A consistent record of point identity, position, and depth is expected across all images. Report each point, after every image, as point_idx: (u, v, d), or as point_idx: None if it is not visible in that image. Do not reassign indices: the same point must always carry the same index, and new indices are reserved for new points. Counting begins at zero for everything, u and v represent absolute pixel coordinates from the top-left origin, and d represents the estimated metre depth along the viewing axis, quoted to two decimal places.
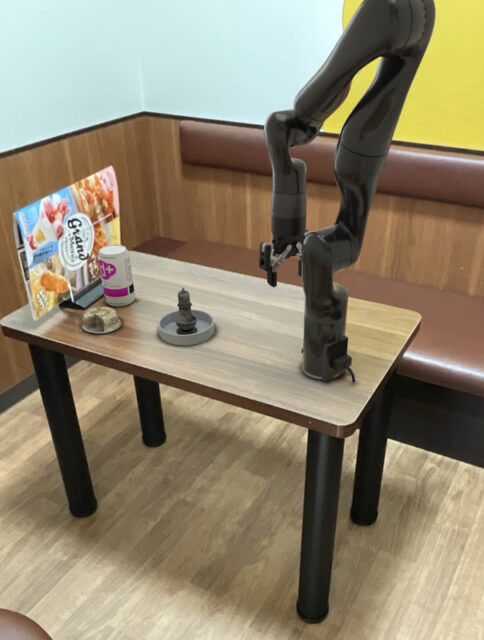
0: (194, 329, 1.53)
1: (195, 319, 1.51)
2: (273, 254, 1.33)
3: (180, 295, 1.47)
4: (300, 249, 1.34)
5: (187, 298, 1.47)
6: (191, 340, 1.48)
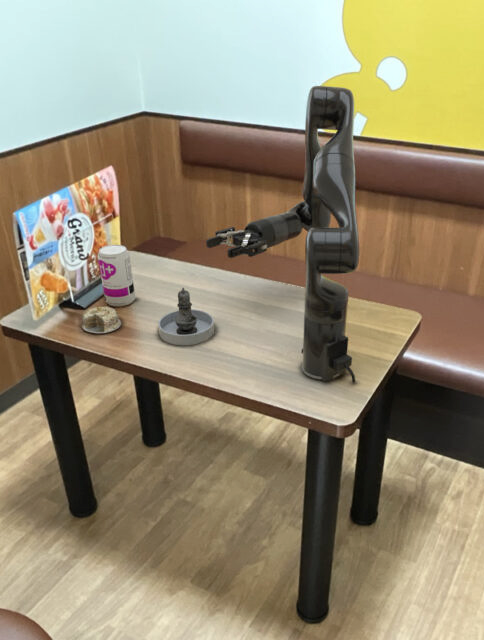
0: (194, 329, 1.53)
1: (195, 319, 1.51)
2: (231, 242, 1.55)
3: (180, 295, 1.47)
4: (246, 236, 1.51)
5: (187, 298, 1.47)
6: (191, 340, 1.48)
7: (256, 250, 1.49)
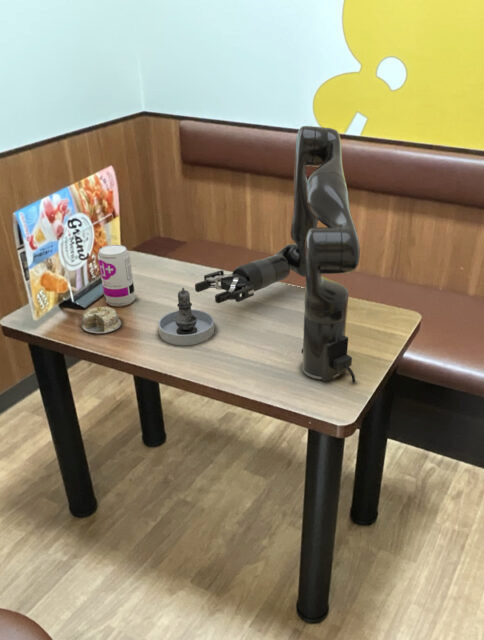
0: (194, 329, 1.53)
1: (195, 319, 1.51)
2: (219, 286, 1.59)
3: (180, 295, 1.47)
4: (234, 281, 1.55)
5: (187, 298, 1.47)
6: (191, 340, 1.48)
7: (243, 295, 1.53)
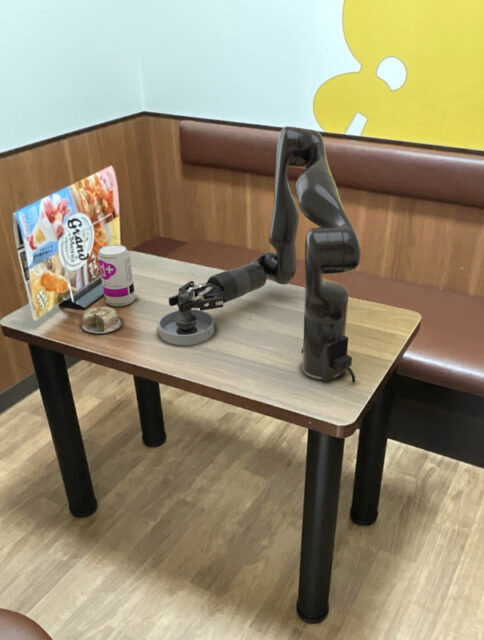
0: (194, 329, 1.53)
1: (195, 319, 1.51)
2: (193, 297, 1.53)
3: (180, 295, 1.47)
4: (205, 290, 1.50)
5: (187, 298, 1.47)
6: (191, 340, 1.48)
7: (209, 305, 1.48)
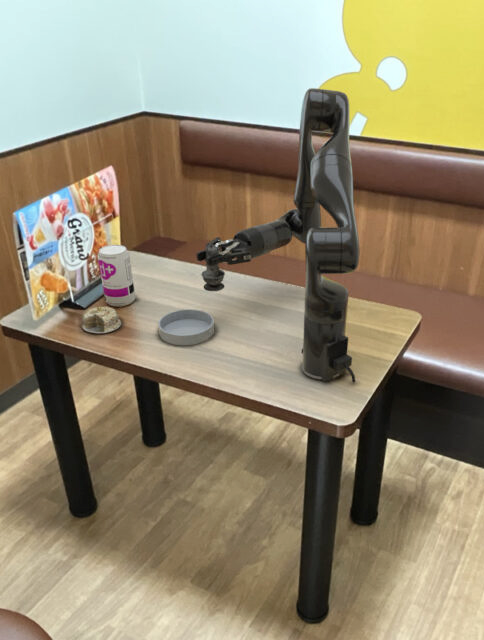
0: (221, 285, 1.53)
1: (222, 274, 1.51)
2: (220, 253, 1.53)
3: (208, 249, 1.47)
4: (233, 245, 1.50)
5: (215, 252, 1.47)
6: (191, 340, 1.48)
7: (237, 259, 1.48)
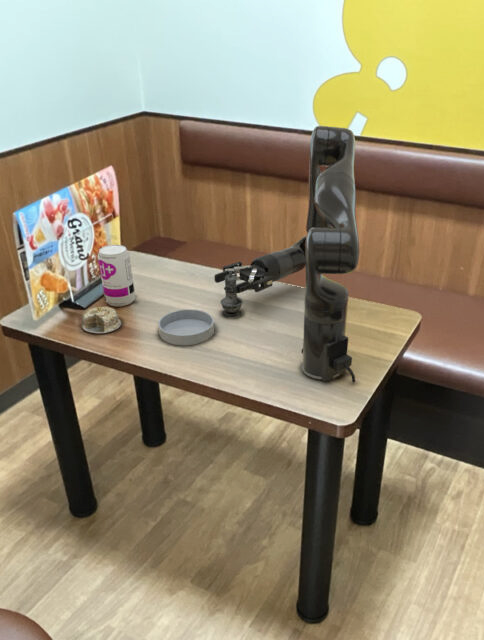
0: (239, 312, 1.61)
1: (240, 302, 1.59)
2: (238, 277, 1.62)
3: (227, 279, 1.55)
4: (253, 272, 1.58)
5: (234, 282, 1.56)
6: (191, 340, 1.48)
7: (262, 286, 1.56)
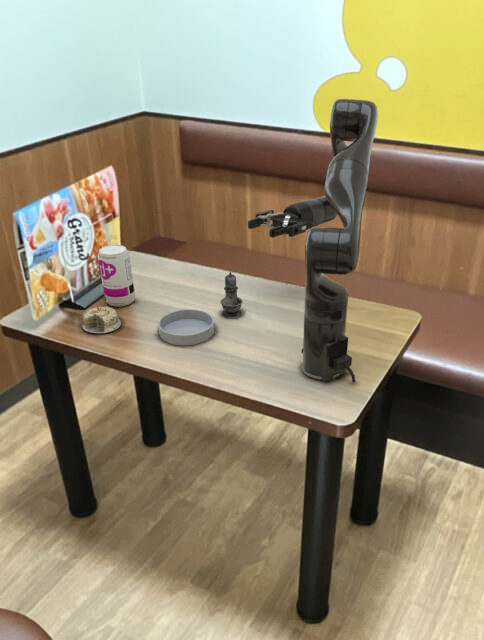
0: (239, 312, 1.61)
1: (240, 302, 1.59)
2: (270, 224, 1.62)
3: (227, 279, 1.55)
4: (286, 218, 1.57)
5: (234, 282, 1.56)
6: (191, 340, 1.48)
7: (296, 231, 1.55)
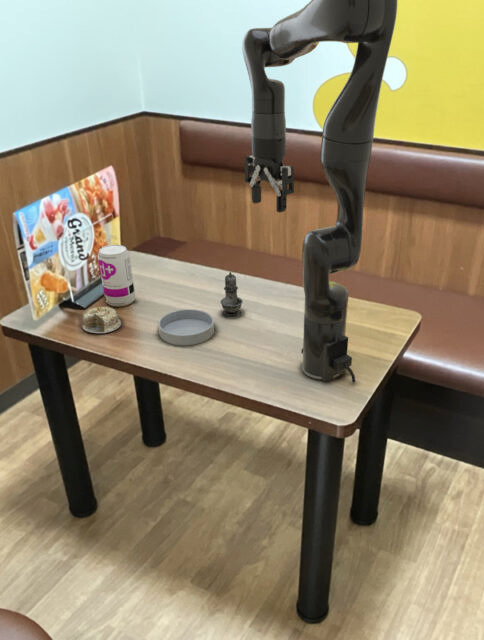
0: (239, 312, 1.61)
1: (240, 302, 1.59)
2: None
3: (227, 279, 1.55)
4: (269, 176, 1.35)
5: (234, 282, 1.56)
6: (191, 340, 1.48)
7: None
